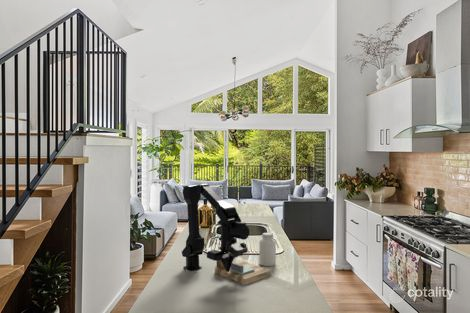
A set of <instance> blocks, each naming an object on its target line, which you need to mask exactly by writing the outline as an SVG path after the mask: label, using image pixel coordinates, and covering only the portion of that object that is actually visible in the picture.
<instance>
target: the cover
mask: <svg viewBox="0 0 470 313" xmlns="http://www.w3.org/2000/svg"><path fill="white" fill-rule="evenodd" d="M234 262H235V261H233V262H232V265H231V268H230V270H231V271H233V272H236V273H239V274H241V275H243V274H245V273H248V272H252V271H255V269H253V268H250V267H247V266H244V265H240V264H237V263H234Z"/></svg>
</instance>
